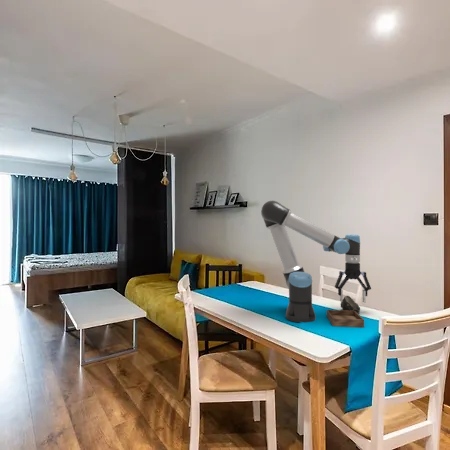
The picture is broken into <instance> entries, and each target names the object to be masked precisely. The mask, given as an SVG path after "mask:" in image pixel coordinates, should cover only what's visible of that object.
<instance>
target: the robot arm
mask: <svg viewBox="0 0 450 450" xmlns="http://www.w3.org/2000/svg"><path fill="white" fill-rule="evenodd" d="M260 211H261V212H260V214H261V217H262V219H263V222H264V224H265V227H266V228H267V230H269V231H270V233H271V236H272V239H273V243H274V244H275V247H276V250H277V253H278V256H279V257H280V258H279V259H280V261H281V264H282V266H283V272H282V274H283V277H284V280H285V283H286V286H287V288H288V300H289V301H288V305H287V307H286V311H285V318H286V319H287V320H288V321H290V322H294V323H311V322H314V321H316V317H317V316H316V313H315V310H314V307H313V295H312V294H313V291H312V290H313V287H312V286H313V279H312V275H311V273H308V272H305V270H304V267H303V265H301V264H300V263H299V261H298V259H297V256H296V253H295V251H294V247H293V245H292V242H291V239H290V236H289V234H288V231H287V228H288V229H291V230H293V231H295V232H296V233H299V234H300V235H302V236H304V237H305V238H308V239H311V240H312V241H313V242H316V243H317V244H319V245H321V246H322V249H323V251H324V252H333V253H336V254H338V255H344V254H345V257H344V259H345V266H344V267H345V269H344V271H341V270H340V271H338V274H339V275H338V277H337V279H336V283H335V285H334V288H335V289H337V292H338V293H337V294H338V296H339V301H340V303H341V302H343V299H344V297H343V295H344V294H343V288H344V286H345V285H346V283H347V282H348V281H349V280H357V281H358V283H359V284H360V285H361V286H362V287H361V288H363V289H362V302H363V303H364V304H365V303H366V297H368V292H369V291H370V290H372V287H371V285H370V283H369V282H370V281H369V280H368V276H367V272H366V271H361V263H360V262H361V238H360V235H359V234H345V237H343V238H342V237H341V238H340V237H339V236H338V235H335V234H334V233H331V232H330V231H327V230H326V229H323V228H321V227H320V226H318V225H316V224H314V223H312V222H310V221H308V220H306V219H304V218H303V217H302V216H301V217H300V216H298V215H297V214H295V213H292V211H291V209H290V208H288V207H286V206H284V205H283V204H281V203H280V202H278V201H276V200H269V201H266V202H265V203H264V204H263V205H262V206H261V210H260ZM286 227H287V228H286ZM344 275H345V277H344V279H343V276H344ZM360 276H362V278H363V280H364V282H363V280H362V279H361V278H360ZM342 279H343V280H342ZM341 281H342V282H341Z"/></svg>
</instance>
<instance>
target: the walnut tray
mask: <svg viewBox="0 0 450 450" xmlns="http://www.w3.org/2000/svg"><path fill="white" fill-rule="evenodd" d="M326 318H327V319H328V321H329V322H330V324H331V325H332V326H333V327H347V328H365V319H364V318H363V317H362V316H361V315H360V314H359V312H356V311H353V310H350V311H345V310H342V309H337V310H336V309H326Z"/></svg>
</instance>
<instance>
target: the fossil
mask: <svg viewBox="0 0 450 450" xmlns="http://www.w3.org/2000/svg"><path fill="white" fill-rule="evenodd" d="M340 308H341V310H345V311H356V312H357V313H359V312H360V311H361V307H360V306H359V304H358V303H357V302H355V300H354V299H353V298H352V297H351V296H350V295H345V296H344V297H343V302H341V301H340Z"/></svg>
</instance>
